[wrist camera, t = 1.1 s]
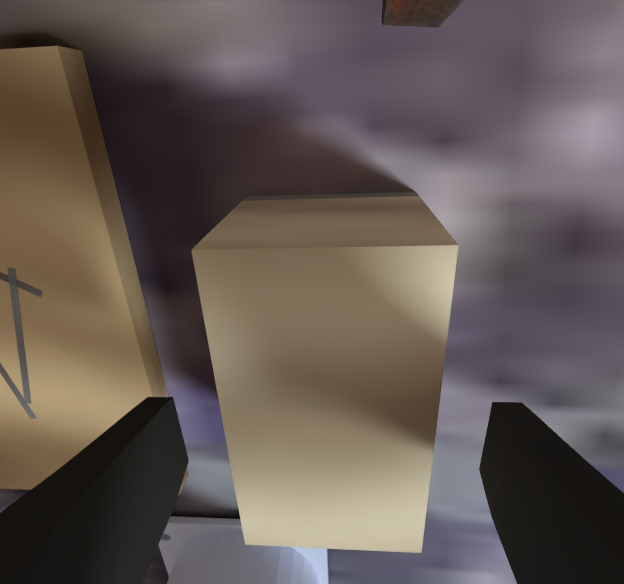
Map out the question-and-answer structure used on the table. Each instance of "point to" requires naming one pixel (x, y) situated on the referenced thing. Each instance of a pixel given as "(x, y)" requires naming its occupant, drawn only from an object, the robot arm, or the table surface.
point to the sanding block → (329, 363)
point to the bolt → (417, 12)
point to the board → (62, 273)
